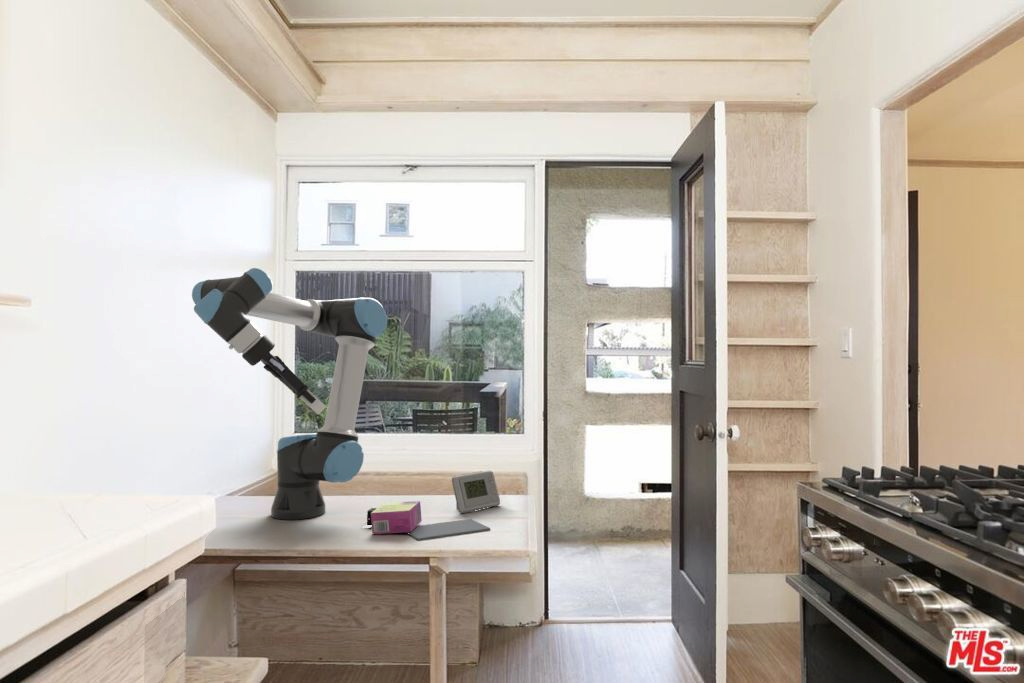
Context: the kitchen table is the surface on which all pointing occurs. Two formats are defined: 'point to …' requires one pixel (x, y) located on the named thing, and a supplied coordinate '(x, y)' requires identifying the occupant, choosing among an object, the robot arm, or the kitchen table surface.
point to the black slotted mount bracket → (369, 516)
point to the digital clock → (475, 491)
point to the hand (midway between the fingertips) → (321, 410)
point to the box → (396, 517)
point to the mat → (447, 529)
